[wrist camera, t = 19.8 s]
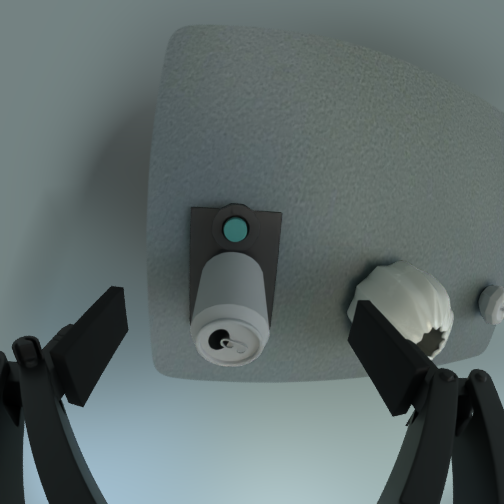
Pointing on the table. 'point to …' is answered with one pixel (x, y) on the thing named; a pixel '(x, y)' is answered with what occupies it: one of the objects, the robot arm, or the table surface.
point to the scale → (234, 244)
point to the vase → (409, 304)
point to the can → (230, 311)
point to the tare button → (235, 229)
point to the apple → (492, 304)
